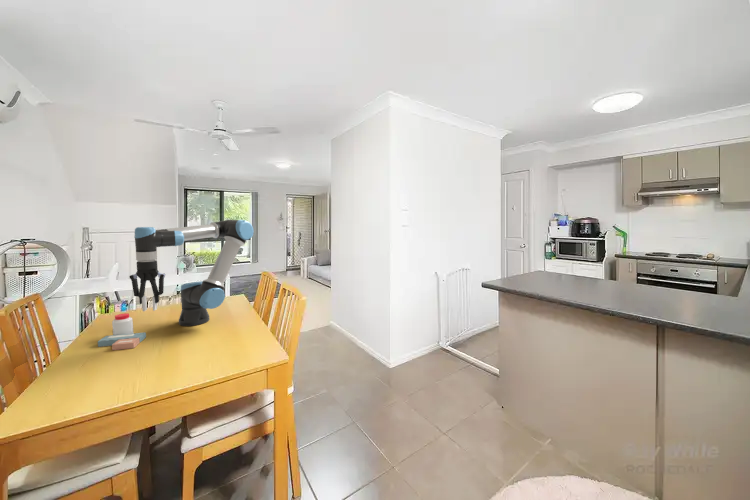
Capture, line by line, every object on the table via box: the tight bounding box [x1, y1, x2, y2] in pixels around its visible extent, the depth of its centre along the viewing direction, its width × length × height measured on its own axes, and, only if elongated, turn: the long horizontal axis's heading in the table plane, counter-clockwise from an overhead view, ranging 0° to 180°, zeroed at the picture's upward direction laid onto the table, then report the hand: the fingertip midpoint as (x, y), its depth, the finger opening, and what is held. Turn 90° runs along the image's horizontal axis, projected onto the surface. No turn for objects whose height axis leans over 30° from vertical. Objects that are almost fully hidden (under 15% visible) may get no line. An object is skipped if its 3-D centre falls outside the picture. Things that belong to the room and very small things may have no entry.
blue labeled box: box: [97, 331, 147, 348], centre depth 140 cm, size 16×7×3 cm, turn 109°
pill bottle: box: [111, 312, 134, 335], centre depth 147 cm, size 8×8×11 cm
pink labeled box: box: [111, 338, 141, 351], centre depth 135 cm, size 8×6×3 cm
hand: (149, 310), depth 137 cm, fingers open, 3 cm apart
